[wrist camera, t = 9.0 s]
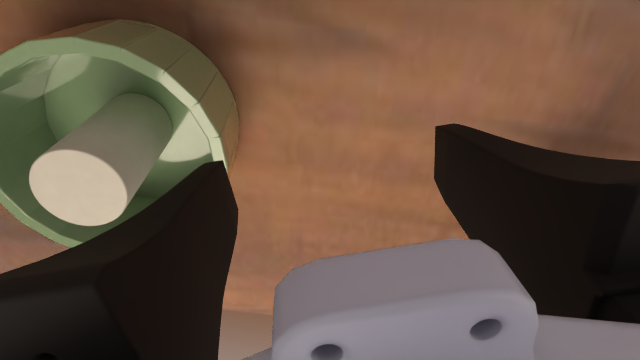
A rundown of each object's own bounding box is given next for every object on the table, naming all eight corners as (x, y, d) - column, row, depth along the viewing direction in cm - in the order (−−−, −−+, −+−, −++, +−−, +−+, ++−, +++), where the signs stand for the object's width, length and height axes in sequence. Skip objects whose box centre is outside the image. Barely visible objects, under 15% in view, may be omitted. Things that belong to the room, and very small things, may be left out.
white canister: (186, 126, 21) (145, 192, 15) (146, 164, 22) (93, 240, 16) (131, 78, 19) (61, 130, 13) (90, 122, 20) (9, 188, 14)
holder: (277, 126, 22) (275, 171, 17) (161, 226, 25) (133, 288, 20) (118, -32, 17) (55, -31, 13) (-1, 114, 20) (-88, 160, 16)
